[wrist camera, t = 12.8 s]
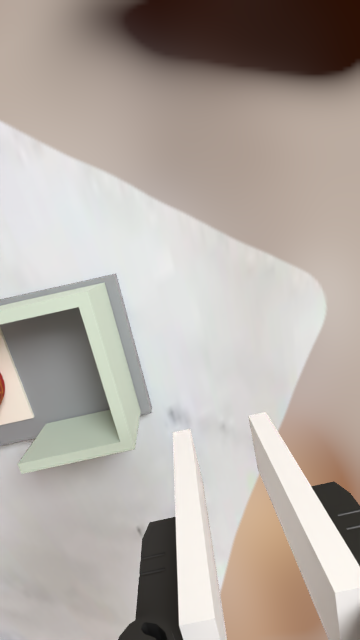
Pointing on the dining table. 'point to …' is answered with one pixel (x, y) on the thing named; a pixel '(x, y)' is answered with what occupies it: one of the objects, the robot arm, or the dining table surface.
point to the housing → (123, 417)
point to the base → (58, 366)
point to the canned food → (2, 388)
